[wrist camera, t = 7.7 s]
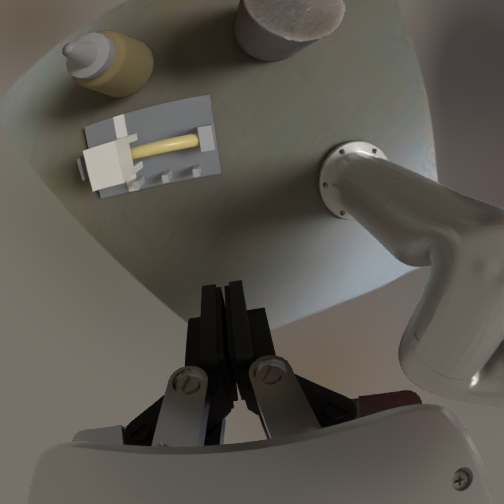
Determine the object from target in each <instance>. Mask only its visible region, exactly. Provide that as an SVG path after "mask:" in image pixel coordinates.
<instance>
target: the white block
mask: <svg viewBox="0 0 504 504" xmlns="http://www.w3.org/2000/svg"><path fill="white" fill-rule="evenodd" d="M136 140H138V138H137V133H136V134H133V135H129V136H125V137H122V138H119V139H115V140H112V141H109V142H106V143H103V144H100V145H97V146H95V147H92V148H89V149H87V150H84V151H83V154H84V158H85V163H86V167H87V171H88V175H89V179H90V183H91V186H92V190H93V191H96V190H99V189H103V188H107V187H111V186H114V185H118V184H122V183H125V182H126V181H127V180H128V179H129V178H131V177H132V176H133V175H134V174H135V173H137V172H138V171H139V170H140V169H141V168H143V163H142V161H138V162H134V163H133V161H132V156H131V151H130V146H129V143H131V142H134V141H136Z"/></svg>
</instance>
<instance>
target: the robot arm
mask: <svg viewBox="0 0 504 504" xmlns="http://www.w3.org/2000/svg"><path fill="white" fill-rule="evenodd" d="M372 149H373V151H372ZM340 150H341V152H340V153H339V151H340ZM324 182H325V184H324V185H323V183H324ZM318 186H319V192H320V195H321V198H322V200H323V202H324V203H325V205H326V206H327V207H328V209H329V210H330V211H332V212H333V213H334V214H335V215H337V216H338V217H340V218H343V219H347V220H356V221H358V222H359V223H360V224H361V225H362V226H363V227H364V228H365V229H366V230H367V231H368V232H369V233H370V234H371V235H373V236H374V237H375V238H376V239H377V240H378V241H379V242H380V243H381V244H382V245H383V246H384V247H385V248H386V249H387V250H388V251H389V252H390V253H391V254H392V255H393V256H394V257H395V258H396V259H398V260H399V261H400V262H402V263H404V264H406V265H409V266H414V267H425V266H431V270H430V274H429V277H428V279H427V282H426V284H425V287H424V290H423V293H422V295H421V297H420V299H419V301H418V304H417V306H416V308H415V310H414V312H413V314H412V316H411V318H410V320H409V322H408V325H407V327H406V329H405V331H404V333H403V335H402V338H401V341H400V344H399V349H398V358H399V362H400V366H401V368H402V370H403V372H404V374H405V375H406V376H407V377H408V379H409V380H410V381H411V382H412V383H414V384H415V385H416V386H418V387H419V388H421V389H422V390H424V391H427V392H429V393H431V394H434V395H437V396H440V397H443V398H448V399H452V400H457V401H462V402H467V403H473V404H479V405H485V406H491V407H498V408H504V209H502V208H500V207H497V206H494V205H491V204H489V203H486V202H483V201H480V200H477V199H474V198H471V197H469V196H466V195H463V194H461V193H459V192H457V191H454V190H452V189H450V188H448V187H445V186H443V185H441V184H439V183H437V182H435V181H433V180H431V179H429V178H426V177H424V176H422V175H420V174H418V173H415V172H413V171H411V170H409V169H406V168H404V167H402V166H399V165H397V164H395V163H392V162H390V161H388V159H387V157H386V156H385V154H384V153H383V152H382V151H381V150H380V149H379V148H378V147H376V146H375V145H373V144H371V143H368V142H365V141H360V140H355V141H348V142H345V143H343V144H341V145H338V146H337V147H336V148H334V149H333V150H332V151H331V152H330V153H329V154H328V155H327V157H326V159H325V160H324V162H323V164H322V166H321V169H320V173H319V184H318ZM224 288H225V303H224V299H223V294H222V290H221V287H216V285H215V284H213V285H206V286H202V299H201V317H197V318H189V321H188V330H187V342H186V355H185V356H186V357H185V367H182V368H179V369H178V370H176V371H175V372H174V373H173V374H172V375H171V376H170V378H169V380H168V384H167V388H166V391H165V395H163V396H162V397H161V398H160V399H159V400H158V401H156V402H155V403H154V404H153V405H151V406H150V407H149V408H148V409H146V410H145V411H144V412H143V413H141V414H140V415H139V416H138V417H136V418H135V419H134V420H133V421H132V422H130V423H129V425H127V426H126V427H123V426H122V425H118V426H112V427H104V428H97V429H89V430H82V431H79V432H78V433H77V434H75V436H74V438H73V440H72V442H66V443H60V444H57V445H54V446H51V447H49V448H47V449H45V450H44V451H43V452H42V453H41V455H40V456H39V458H38V460H37V463H36V465H35V469H34V472H33V476H32V480H31V485H30V492H29V498H28V504H497V501H496V498H495V494H494V491H493V488H492V486H491V483H490V480H489V478H488V475H487V472H486V470H485V468H484V465H483V463H482V460H481V458H480V456H479V453H478V451H477V449H476V447H475V446H474V444H473V442H472V440H471V438H470V436H469V434H468V433H467V431H466V429H465V428H464V426H463V425H462V423H461V422H460V420H459V419H458V418H457V417H456V416H455V414H454V413H453V412H452V411H450V410H449V409H447V408H446V407H443V406H439V405H434V404H422V400H421V398H420V397H419V395H417V393H415V392H413V391H410V390H402V391H396V392H388V393H381V394H372V395H365V396H358V398H355V399H349V398H347V397H346V396H344V395H341V394H339V393H336V392H334V391H331V390H329V389H327V388H325V387H322V386H320V385H318V384H316V383H313V382H311V381H309V380H307V379H305V378H302V377H300V376H298V375H296V374H294V372H293V369H292V367H291V365H290V364H289V363H288V361H287V360H285V359H284V358H282V357H279V356H276V355H275V350H274V346H273V342H272V337H271V333H270V329H269V324H268V320H267V316H266V312H265V308H258V309H252V310H247V309H246V303H245V297H244V291H243V285H242V280H239V281H233V282H229V286H224ZM225 305H226V308H225ZM236 382H237V385H238V389H239V392H240V395H241V399H242V400H245V401H246V405H247V408H248V409H249V410H250V411H252V412H254V413H255V414H257V415H258V416H259V420H260V422H261V425H262V428H263V431H264V434H265V437H266V440H260V441H253V442H245V443H237V444H225V445H223V442H224V432H225V424H226V420H225V417H226V416H227V415H228V414H229V413H230V412H231V409H232V408H234V405H233V401H237V400H238V394H237V385H236Z"/></svg>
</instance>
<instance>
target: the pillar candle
mask: <svg viewBox="0 0 504 504" xmlns="http://www.w3.org/2000/svg"><path fill="white" fill-rule="evenodd" d="M345 9H346V8H345V4H344V3H343V0H240V3H239V7H238V11H237V14H236V19H235V23H234V36H235V39H236V41H237V43H238V45H239V46H240V47H241V49H242V50H243V51H244V52H246V53H247V54H248V55H250V56H252V57H254V58H256V59H259V60H263V61H280V60H284V59H287V58H289V57H291V56H293V55H294V54H296V53H297V52H299V51H301V50H302V49H304V48H306V47H307V46H309V45H311V44H312V43H314V42H316V41H317V40H319V39H321V38H323V37H325V36H328V35H329V34H330V33H331V32H333V31H334V30H335V29H337V27H338V26H339V24H340V22H341V21H342V18H343V13H344V12H345Z"/></svg>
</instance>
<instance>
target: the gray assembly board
mask: <svg viewBox="0 0 504 504" xmlns="http://www.w3.org/2000/svg"><path fill="white" fill-rule="evenodd" d="M84 128H85V133H86V138H87V143H88V148H92V147H95V146H97V145H100V144H103V143H106V142H109V141H112V140H115V139H119V138H122V137H125V136H129V135H133V134H136V133H137V138H138V140H136V141H134V142H131V143H129V146H130V151H131V156H132V161H133V163H134V162H138V161H142V163H143V168H141V169H140V170H139V171H138V172H137V173H135V174H134V175H133V176H132V177H131V178H129V179H128V180H127V181H126V182H125V183H122V184H118V185H114V186H111V187H107V188H103V189H99V193H100V196H101V199H102V198H106V197H110V196H114V195H118V194H122V193H126V192H131V191H135V190H139V189H143V188H148V187H152V186H157V185H162V184H167V183H172V182H177V181H182V180H187V179H193V178H198V177H204V176H210V175H216V174H221V168H220V161H219V154H218V148H217V141H216V134H215V128H214V121H213V114H212V107H211V100H210V95H204V96H198V97H193V98H187V99H182V100H177V101H173V102H168V103H164V104H160V105H155V106H151V107H148V108H144V109H140V110H136V111H133V112H129V113H126V114H122V115H119V116H116V117H113V118H110V119H107V120H104V121H101V122H98V123H95V124H92V125H89V126H86V127H84ZM77 162H78V166H79V170H80V174H81V178H82V181H84V180H85V181H88V180H90V179H89V175H88V171H87V167H86V163H85V158H84V156H82V157H80V158H78V159H77Z"/></svg>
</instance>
